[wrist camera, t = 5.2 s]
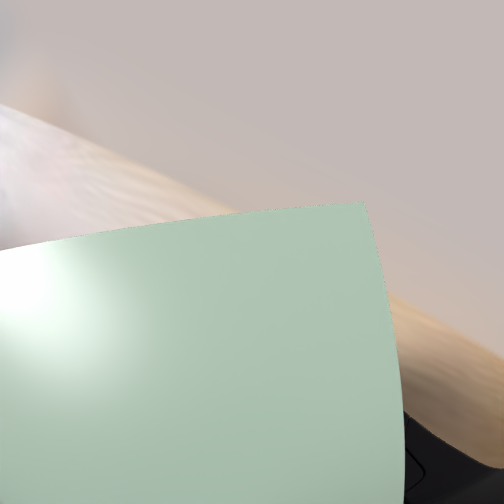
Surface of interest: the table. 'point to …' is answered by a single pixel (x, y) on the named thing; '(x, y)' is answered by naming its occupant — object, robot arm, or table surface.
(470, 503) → the robot arm
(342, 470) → the mint green prism
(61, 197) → the table surface
